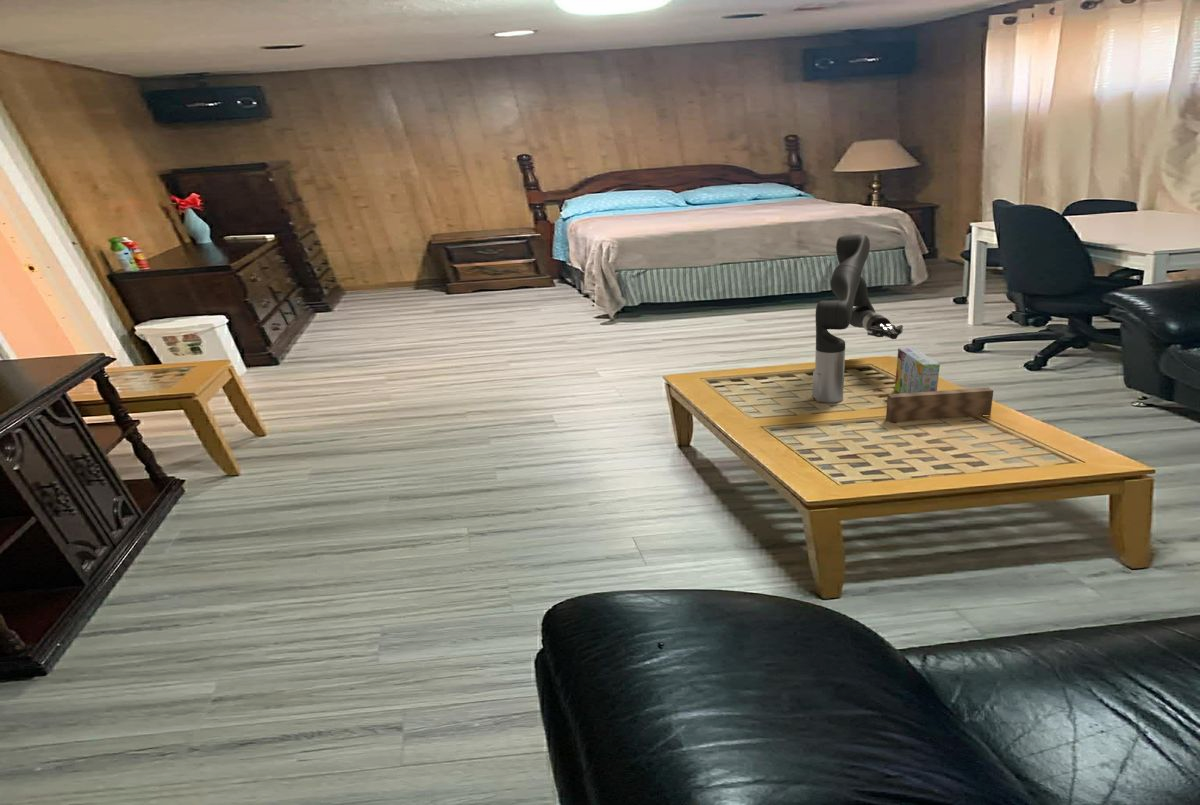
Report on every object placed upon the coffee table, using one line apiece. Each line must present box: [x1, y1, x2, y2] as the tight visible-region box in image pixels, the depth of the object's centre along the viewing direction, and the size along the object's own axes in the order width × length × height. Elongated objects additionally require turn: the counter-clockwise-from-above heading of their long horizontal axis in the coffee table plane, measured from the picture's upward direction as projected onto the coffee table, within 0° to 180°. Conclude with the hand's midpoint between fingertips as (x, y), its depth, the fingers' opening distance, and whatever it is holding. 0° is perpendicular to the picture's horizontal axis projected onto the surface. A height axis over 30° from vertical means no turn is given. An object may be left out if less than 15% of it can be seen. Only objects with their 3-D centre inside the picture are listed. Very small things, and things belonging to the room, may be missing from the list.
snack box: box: [894, 346, 941, 394], centre depth 221 cm, size 21×6×15 cm, turn 179°
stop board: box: [885, 386, 994, 423], centre depth 207 cm, size 30×3×8 cm, turn 90°
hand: (894, 336), depth 236 cm, fingers closed
